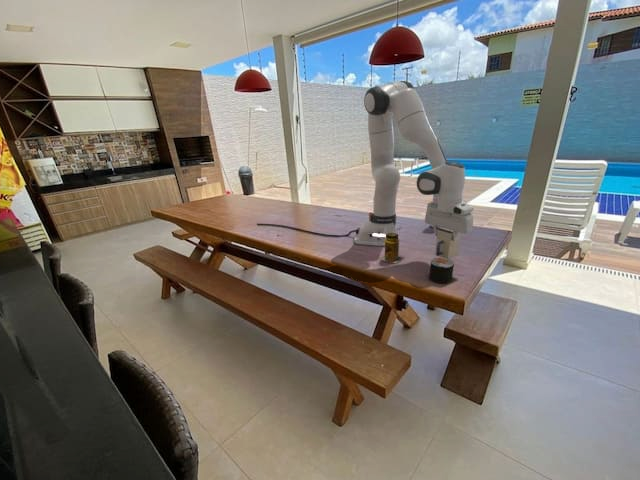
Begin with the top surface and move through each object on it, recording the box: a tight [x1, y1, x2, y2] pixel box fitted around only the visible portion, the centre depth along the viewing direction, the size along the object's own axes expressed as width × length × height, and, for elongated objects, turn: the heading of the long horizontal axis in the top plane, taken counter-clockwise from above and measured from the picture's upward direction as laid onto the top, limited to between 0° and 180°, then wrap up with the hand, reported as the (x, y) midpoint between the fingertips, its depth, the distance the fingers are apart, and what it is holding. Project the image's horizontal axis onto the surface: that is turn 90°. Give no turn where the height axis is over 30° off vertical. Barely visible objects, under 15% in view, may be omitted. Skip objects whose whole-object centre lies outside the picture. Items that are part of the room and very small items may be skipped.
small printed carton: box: [434, 227, 461, 260], centre depth 128 cm, size 12×6×10 cm
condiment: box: [380, 232, 404, 264], centre depth 137 cm, size 7×8×12 cm
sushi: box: [428, 257, 455, 285], centre depth 119 cm, size 8×8×8 cm
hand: (445, 238), depth 127 cm, fingers closed on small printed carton, 6 cm apart
